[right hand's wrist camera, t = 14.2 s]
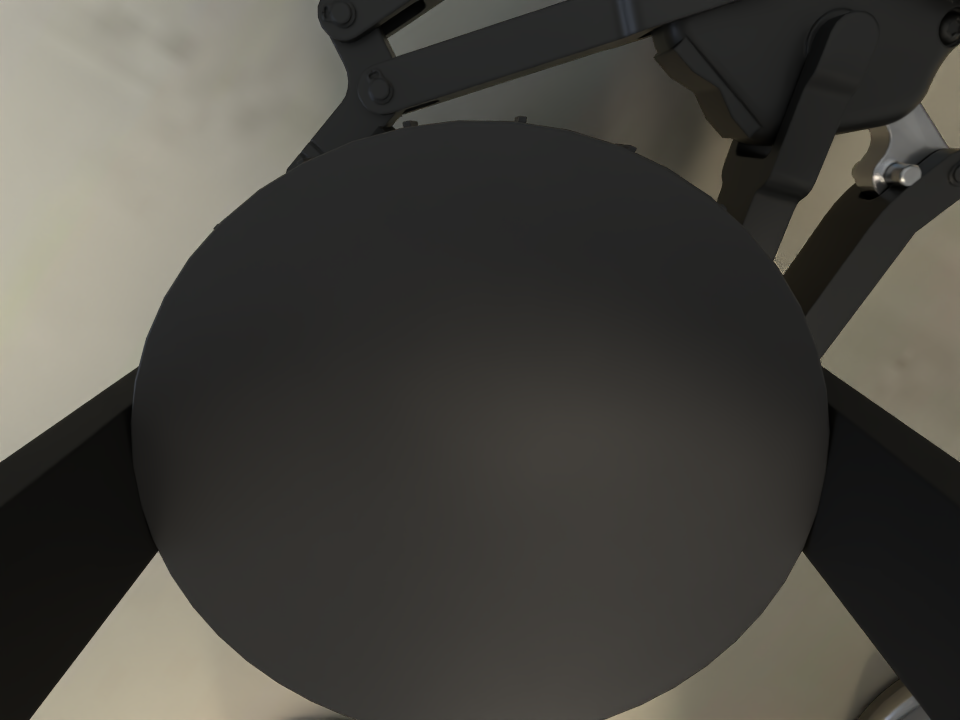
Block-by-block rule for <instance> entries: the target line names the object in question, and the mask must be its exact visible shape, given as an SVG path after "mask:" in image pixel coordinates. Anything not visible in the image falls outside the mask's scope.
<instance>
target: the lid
mask: <svg viewBox="0 0 960 720" xmlns="http://www.w3.org/2000/svg"><path fill="white" fill-rule="evenodd" d="M526 119H527V117H524V116H518V117H515V121H464V120H458V121H450V122H442V123H434V124H426V125H418V123H417V122H416V121H405V122H403V126H404V127H403V128H400V129H396V130H392V131H389V132H385V133H381V134H378V135H374V136H370V137H367V138H363V139H359V140H356V141H352V142H350V143H347V144H345V145H343V146H340V147H338V148H336V149H333V150H331V151H329V152H326V153H324V154H322V155H319V156H316V157H309V158H303V159H301V160H299V161H297V164H298V166H297V167H295V168H294V169H292V170H290V171H289V172H287V173H285V174H284V175H282V176H281V177H279V178H277V179H276V180H274V181H272V182H271V183H269V184H268V185H266V186H264V187H263V188H261V189H259V190H258V191H257V192H256V193H255V194H253V195H252V196H251V197H250V198H249V199H248V200H246V201H245V202H244V203H243V204H242V205H240V206H239V207H238V208H237V209H236V210H234V211H233V212H232V213H231V214H230V215H229V216H227V217H226V218H225V219H224V220H223V221H221V222H220V223H219V224H217V225H216V226H215V227H214V230H213V232H212V233H211V234H210V235H209V236H208V237H207V238H206V239H205V241H204V242H203V243H202V244H201V245H200V246H199V247H198V249H197V250H196V251H195V252H194V253H193V254H192V255H191V257H190V258H189V259H188V261H187V262H186V264H185V265H184V267H183V269H182V270H181V272H180V273H179V275H178V276H177V278H176V280H175V281H174V283H173V284H172V286H171V287H170V289H169V291H168V292H167V294H166V295H165V297H164V299H163V301H162V303H161V306H160V308H159V310H158V313H157V315H156V317H155V319H154V322H153V324H152V326H151V329H150V331H149V333H148V335H147V338H146V341H145V345H144V349H143V352H142V356H141V360H140V364H139V368H138V371H137V375H136V379H135V386H134V395H133V405H132V415H131V442H132V463H133V468H134V473H135V478H136V483H137V487H138V492H139V497H140V502H141V506H142V510H143V512H144V515H145V518H146V521H147V524H148V527H149V530H150V532H151V535H152V538H153V541H154V543H155V545H156V547H157V549H158V551H159V553H160V555H161V556H162V558H163V560H164V562H165V564H166V566H167V568H168V570H169V572H170V574H171V576H172V577H173V579H174V580H175V582H176V583H177V585H178V586H179V587H180V589H181V590H182V592H183V593H184V595H185V596H186V598H187V599H188V601H189V602H190V603H191V605H192V606H193V608H194V609H195V610H196V611H197V612H198V613H199V614H200V616H201V617H202V618H203V619H204V620H205V621H206V622H207V623H208V625H209V626H210V627H211V628H212V629H213V630H214V631H215V632H216V634H217V635H218V636H219V637H220V638H222V639H223V640H224V641H225V642H226V643H227V644H228V645H229V646H231V647H232V648H233V649H234V650H235V651H236V652H237V653H238V654H240V655H241V656H242V657H243V658H244V659H245V660H246V661H248V662H249V663H250V664H252V665H253V666H255V667H256V668H257V669H259V670H260V671H262V672H263V673H265V674H266V675H267V676H269V677H270V678H272V679H273V680H274V681H276V682H277V683H279V684H281V685H283V686H284V687H286V688H288V689H290V690H292V691H293V692H295V693H297V694H299V695H301V696H302V697H304V698H306V699H308V700H310V701H311V702H314V703H316V704H318V705H321V706H323V707H326V708H328V709H330V710H333V711H335V712H337V713H340V714H342V715H344V716H347V717H350V718H353V719H356V720H604V719H607V718H610V717H612V716H615V715H617V714H620V713H622V712H625V711H627V710H630V709H632V708H635V707H637V706H640V705H642V704H644V703H646V702H648V701H650V700H652V699H654V698H655V697H657V696H659V695H661V694H663V693H665V692H667V691H669V690H671V689H673V688H675V687H676V686H678V685H679V684H681V683H682V682H684V681H685V680H687V679H688V678H690V677H691V676H693V675H694V674H696V673H697V672H698V671H700V670H701V669H703V668H704V667H706V666H707V665H708V664H710V663H711V662H712V661H713V660H714V659H716V658H717V657H718V656H719V655H720V654H721V653H723V652H724V651H725V650H726V649H727V648H729V647H730V646H731V645H732V644H733V643H734V642H736V641H737V640H738V638H739V637H740V636H741V635H742V634H743V633H744V632H745V631H746V630H747V629H748V628H749V627H750V626H751V625H752V624H753V622H754V621H755V620H756V619H757V618H758V617H759V616H760V615H761V614H762V613H763V611H764V610H765V609H766V607H767V606H768V604H769V603H770V602H771V600H772V599H773V598H774V596H775V595H776V593H777V592H778V591H779V589H780V588H781V587H782V585H783V584H784V583H785V581H786V579H787V577H788V575H789V573H790V572H791V570H792V568H793V566H794V564H795V563H796V561H797V559H798V557H799V555H800V553H801V552H802V550H803V548H804V545H805V543H806V540H807V537H808V535H809V532H810V530H811V527H812V524H813V522H814V519H815V517H816V514H817V511H818V506H819V502H820V497H821V493H822V488H823V483H824V479H825V474H826V469H827V460H828V448H829V435H830V429H829V414H828V399H827V389H826V384H825V380H824V375H823V371H822V367H821V362H820V358H819V353H818V349H817V346H816V343H815V341H814V338H813V336H812V333H811V331H810V328H809V326H808V323H807V321H806V318H805V316H804V313H803V310H802V308H801V306H800V304H799V302H798V301H797V299H796V297H795V296H794V294H793V292H792V290H791V289H790V287H789V285H788V284H787V282H786V280H785V279H784V277H783V275H782V273H781V272H780V270H779V268H778V267H777V265H776V264H775V263H774V262H773V261H772V259H771V258H770V257H769V256H768V254H767V253H766V252H765V251H764V250H763V248H762V247H761V246H760V245H759V243H758V242H757V241H756V240H755V239H754V237H753V236H752V235H751V234H750V232H749V231H748V230H747V229H746V228H745V227H744V226H743V225H741V224H740V223H739V222H738V221H737V220H736V219H735V218H734V217H733V216H732V215H730V214H729V213H728V212H727V211H726V210H727V208H726V207H725V206H724V205H723V204H720V203H717V202H716V201H715V200H714V199H713V198H712V197H710V196H709V195H707V194H706V193H704V192H703V191H701V190H700V189H698V188H697V187H695V186H694V185H692V184H691V183H689V182H688V181H686V180H685V179H683V178H682V177H680V176H679V175H677V174H676V173H674V172H673V171H671V170H670V169H668V168H666V167H664V166H662V165H660V164H658V163H656V162H654V161H651V160H649V159H647V158H645V157H643V156H641V155H639V154H637V153H635V151H636V149H637V148H636V147H634V146H631V145H623V144H613V143H610V142H606V141H603V140H600V139H597V138H593V137H590V136H587V135H584V134H580V133H577V132H574V131H571V130H566V129H560V128H554V127H547V126H541V125H534V124H528V123H526Z"/></svg>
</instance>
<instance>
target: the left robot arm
mask: <svg viewBox="0 0 960 720" xmlns="http://www.w3.org/2000/svg"><path fill="white" fill-rule="evenodd" d="M442 1H444V0H320V2H319V4H318V19H319V21H320V24H321V26H322V28H323V29H324V30H325V32H326V33H327V34H328V35H329V36H330V38H331V40H332V42H333V44H334V46H335V48H336V50H337V52H338V54H339V56H340V58H341V60H342V62H343V63H344V66H345V68H346V71H347V75H348V90H347V93H346V96H345V98H344V99H343V101H342V103H341V104H340V105H339V106H338V107H337V109H336V110H335V111H334V112H333V114H332V115H331V116H330V117H329V118H328V120H327V121H326V122H325V123H324V125H323V126H322V127H321V128H320V130H319V131H318V132H317V133H316V134H315V136H314V137H313V138H312V139H311V141H310V142H309V143H308V144H307V145H306V147H305V148H304V149H303V150H302V152H301V153H300V154H299V155H298V156H297V158H296V159H295V160H294V161H293V163H292V164H291V165H290V166H289V167H288V169H287V171H286V173H287V172H289V171H290V170H292V169H294V168H295V167H297V166H298V164H297V161H299V160H301V159H303V158H309V157H316V156H319V155H322V154H324V153H326V152H329V151H331V150H333V149H336V148H338V147H340V146H343V145H345V144H347V143H350V142H352V141H356V140H359V139H363V138H367V137H370V136H374V135H378V134H381V133H385V132H389V131H392V130H396V129H394V128H393V127H391V126H392V125H393V124H394V123H395V122H396V121H397V119H398V118H399V117H401V116H402V115H404V114H407V113H410V112H413V111H416V110H419V109H422V108H426V107H429V106H432V105H435V104H438V103H441V102H444V101H447V100H450V99H454V98H457V97H460V96H463V95H466V94H469V93H472V92H475V91H479V90H482V89H485V88H488V87H491V86H494V85H497V84H500V83H503V82H507V81H510V80H513V79H516V78H519V77H522V76H525V75H528V74H531V73H535V72H538V71H541V70H544V69H547V68H550V67H553V66H556V65H560V64H563V63H566V62H569V61H572V60H575V59H578V58H581V57H584V56H588V55H591V54H594V53H597V52H600V51H603V50H608V49H612V48H615V47H619V46H622V45H625V44H628V43H631V42H634V41H638V40H641V39H644V38H647V37H650V36H652V37H653V42H654V45H655V48H656V51H657V54H656V55H655V56H654V57H653V58H654V59H655V60H656V61H657V62H658V64H659V65H660V66H661V67H662V68H663V69H664V71H665V72H666V73H667V74H668V75H669V76H670V78H672V79H673V80H675V81H677V82H678V83H680V84H681V85H683V86H684V87H686V88H688V89H689V90H691V91H692V92H693V93H694V94H695V96H696V98H697V100H698V102H699V104H700V107H701V109H702V111H703V113H704V115H705V118H706V119H707V120H708V122H709V123H710V124H711V125H712V126H713V127H714V129H715V130H716V131H717V132H718V133H719V134H720V136H721V137H722V138H732V139H733V141H732V144H731V146H730V149H729V152H728V155H727V157H726V160H725V163H724V166H723V170H722V181H723V183H722V188H721V191H720V194H719V197H718V200H717V203H720V204H723V205H724V206H725V207H726V208H727V210H726V211H727V212H728V213H729V214H730V215H732V216H733V217H734V218H735V219H736V220H737V221H738V222H739V223H740V224H741V225H743V226H744V227H745V228H746V229H747V230H748V231H749V232H750V234H751V235H752V236H753V237H754V239H755V240H756V241H757V242H758V243H759V245H760V246H761V247H762V248H763V250H764V251H765V252H766V253H767V254H768V256H769V257H770V258H771V259H772V261H773V260H774V258H775V255H776V253H777V251H778V248H779V246H780V243H781V241H782V238H783V236H784V233H785V231H786V229H787V226H788V224H789V221H790V219H791V216H792V214H793V211H794V209H795V207H796V205H797V204H798V202H799V201H800V200H801V199H803V198H804V197H805V196H807V195H808V193H809V192H810V191H811V190H812V188H813V186H814V184H815V182H816V180H817V177H818V175H819V172H820V170H821V168H822V165H823V163H824V160H825V158H826V155H827V153H828V151H829V148H830V146H831V143H832V141H833V139H834V136H835V135H838V134H843V133H849V132H854V131H859V130H865V129H869V131H870V134H871V142H870V147H869V149H868V151H867V153H866V154H865V155H864V157H863V158H862V159H861V161H859V162H857V163H856V164H855V165H854V167H853V168H852V176H853V178H854V179H855V184H854V185H852V186H851V187H850V188H849V189H848V190H847V191H846V192H845V193H844V194H843V195H842V196H841V197H840V198H839V199H838V200H837V201H836V202H835V203H834V205H833V206H832V207H831V209H830V210H829V211H828V213H827V214H826V215H825V216H824V218H823V219H822V221H821V222H820V224H819V225H818V226H817V228H816V229H815V231H814V232H813V234H812V235H811V236H810V238H809V239H808V241H807V242H806V244H805V245H804V246H803V248H802V249H801V251H800V252H799V254H798V255H797V257H796V258H795V259H794V261H793V262H792V264H791V265H790V267H789V268H788V269H787V271H786V272H785V274H784V275H783V277H784V279H785V280H786V282H787V284H788V285H789V287H790V289H791V290H792V292H793V294H794V296H795V297H796V299H797V301H798V302H799V304H800V306H801V308H802V310H803V313H804V316H805V318H806V321H807V323H808V326H809V328H810V331H811V333H812V336H813V338H814V341H815V343H816V346H817V349H818V353H819V358H820V359H821V357H822V356H823V355H824V353H825V352H826V351H827V349H828V348H829V347H830V345H831V344H832V343H833V341H834V340H835V339H836V337H837V336H838V335H839V333H840V332H841V331H842V329H843V328H844V327H845V325H846V324H847V323H848V321H849V320H850V319H851V317H852V316H853V315H854V313H855V312H856V311H857V309H858V308H859V307H860V305H861V304H862V303H863V301H864V300H865V299H866V297H867V296H868V295H869V293H870V292H871V291H872V289H873V288H874V287H875V286H876V284H877V283H878V282H879V280H880V279H881V278H882V276H883V275H884V274H885V272H886V271H887V270H888V268H889V267H890V266H891V264H892V263H893V262H894V260H895V259H896V258H897V256H898V255H899V254H900V252H901V251H902V250H903V248H904V247H905V246H906V244H907V243H908V242H909V240H910V239H911V238H912V236H913V235H914V234H915V232H917V231H918V230H919V229H921V228H922V227H923V226H925V225H926V224H927V223H928V222H930V221H931V220H932V219H934V218H935V217H936V216H938V215H939V214H940V213H942V212H943V211H944V210H946V209H947V208H948V207H950V206H951V205H952V204H954V203H955V202H956V201H958V200H959V199H960V149H954V148H949V147H948V146H947V144H946V143H945V141H944V139H943V138H942V136H941V135H940V133H939V131H938V130H937V128H936V127H935V125H934V123H933V122H932V120H931V119H930V117H929V115H928V114H927V112H926V111H925V109H924V107H923V106H922V104H921V103H920V102H921V101H922V100H923V98H924V97H925V95H926V94H927V92H928V90H929V87H930V85H931V83H932V81H933V78H934V76H935V74H936V73H937V71H938V69H939V67H940V66H941V64H942V63H943V61H944V60H945V59H946V57H947V56H948V55H949V53H950V52H951V51H952V50H953V49H954V48H955V47H956V46H958V45H959V44H960V0H567V1H564V2H561V3H558V4H555V5H552V6H549V7H546V8H543V9H540V10H537V11H534V12H531V13H528V14H525V15H522V16H519V17H515V18H512V19H509V20H506V21H503V22H500V23H497V24H494V25H491V26H488V27H485V28H482V29H479V30H476V31H473V32H470V33H467V34H464V35H461V36H458V37H455V38H452V39H449V40H446V41H443V42H440V43H437V44H434V45H431V46H428V47H425V48H422V49H419V50H416V51H413V52H410V53H407V54H404V55H401V56H397V57H396V56H395V54H394V52H393V50H392V48H391V46H390V44H389V41H388V39H387V38H388V37H390V36H391V35H393V34H394V33H396V32H397V31H399V30H400V29H402V28H403V27H405V26H406V25H408V24H409V23H411V22H412V21H414V20H415V19H417V18H418V17H420V16H421V15H423V14H424V13H426V12H427V11H429V10H430V9H432V8H433V7H435V6H436V5H438V4H439V3H441V2H442ZM858 720H931V719H930V718H929V716H928V715H927V714H926V712H925V711H924V710H923V709H922V707H921V706H920V705H919V703H918V702H917V701H916V699H915V698H914V697H913V695H912V694H911V693H910V692H909V690H908V689H907V688H906V686H905V685H904V684H903V682H902V681H901V680H900V679H899V680H898V681H896V682H895V683H894V684H892V685H891V686H890V687H888V688H887V689H886V690H885V691H883V692H882V693H881V694H880V695H879V696H878V697H877V698H876V699H875V700H874V701H873V702H872V703H871V704H870V705H869V706H868V707H867V708H866V709H865V711H864V712H863V713H862V714H861V716H860V717H859V718H858Z"/></svg>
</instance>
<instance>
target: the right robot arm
mask: <svg viewBox="0 0 960 720" xmlns="http://www.w3.org/2000/svg"><path fill="white" fill-rule="evenodd" d="M821 367H822V366H821ZM138 368H139V366H138V367H137V368H136V369H134V370H133V371H131V372H130V373H128V374H127V375H126V376H124V377H123V378H121V379H120V380H118V381H117V382H115V383H114V384H113V385H111V386H110V387H108V388H107V389H105V390H104V391H103V392H101V393H100V394H98V395H97V396H95V397H94V398H92V399H91V400H90V401H88V402H87V403H85V404H84V405H82V406H81V407H80V408H78V409H77V410H75V411H74V412H72V413H71V414H69V415H68V416H67V417H65V418H64V419H62V420H61V421H59V422H58V423H56V424H55V425H54V426H52V427H51V428H49V429H48V430H46V431H45V432H44V433H42V434H41V435H39V436H38V437H36V438H35V439H33V440H32V441H31V442H29V443H28V444H26V445H25V446H23V447H22V448H21V449H19V450H18V451H16V452H15V453H13V454H12V455H10V456H9V457H8V458H6V459H5V460H3V461H2V462H0V720H30V718H31V717H32V716H33V714H34V713H35V712H36V710H37V709H38V708H39V706H40V705H41V704H42V703H43V701H44V700H45V699H46V697H47V696H48V695H49V693H50V692H51V691H52V689H53V688H54V687H55V685H56V684H57V683H58V682H59V680H60V679H61V678H62V676H63V675H64V674H65V672H66V671H67V670H68V668H69V667H70V666H71V665H72V663H73V662H74V661H75V659H76V658H77V657H78V655H79V654H80V653H81V651H82V650H83V649H84V647H85V646H86V645H87V644H88V642H89V641H90V640H91V638H92V637H93V636H94V634H95V633H96V632H97V630H98V629H99V628H100V626H101V625H102V624H103V623H104V621H105V620H106V619H107V617H108V616H109V615H110V613H111V612H112V611H113V609H114V608H115V607H116V606H117V604H118V603H119V602H120V600H121V599H122V598H123V596H124V595H125V594H126V592H127V591H128V590H129V588H130V587H131V586H132V585H133V583H134V582H135V581H136V579H137V578H138V577H139V575H140V574H141V573H142V571H143V570H144V569H145V568H146V566H147V565H148V564H149V562H150V561H151V560H152V558H153V557H154V556H155V554H156V553H157V552H158V549H157V547H156V545H155V543H154V541H153V538H152V535H151V532H150V530H149V527H148V524H147V521H146V518H145V515H144V512H143V510H142V506H141V502H140V497H139V492H138V487H137V483H136V478H135V473H134V468H133V463H132V442H131V415H132V405H133V395H134V386H135V379H136V375H137V371H138ZM822 371H823V375H824V380H825V384H826V389H827V399H828V414H829V429H830V435H829V448H828V460H827V469H826V474H825V479H824V483H823V488H822V493H821V497H820V502H819V506H818V511H817V514H816V517H815V519H814V522H813V524H812V527H811V530H810V532H809V535H808V537H807V540H806V543H805V545H804V548H803V550H802V551H803V553H804V554H805V555H806V557H807V558H808V559H809V560H810V562H811V563H812V564H813V566H814V567H815V568H816V570H817V571H818V572H819V574H820V575H821V576H822V577H823V579H824V580H825V581H826V583H827V584H828V585H829V587H830V588H831V589H832V591H833V592H834V593H835V595H836V596H837V597H838V598H839V600H840V601H841V602H842V604H843V605H844V606H845V608H846V609H847V610H848V612H849V613H850V614H851V615H852V617H853V618H854V619H855V621H856V622H857V623H858V625H859V626H860V627H861V629H862V630H863V631H864V633H865V634H866V635H867V636H868V638H869V639H870V640H871V642H872V643H873V644H874V646H875V647H876V648H877V650H878V651H879V652H880V654H881V655H882V656H883V657H884V659H885V660H886V661H887V663H888V664H889V665H890V667H891V668H892V669H893V671H894V672H895V673H896V674H897V676H898V677H899V678H900V680H901V681H902V682H903V684H904V685H905V686H906V688H907V689H908V690H909V692H910V693H911V694H912V695H913V697H914V698H915V699H916V701H917V702H918V703H919V705H920V706H921V707H922V709H923V710H924V711H925V712H926V714H927V715H928V716H929V718H930V719H931V720H960V462H959V461H957V460H956V459H954V458H953V457H951V456H950V455H949V454H947V453H946V452H944V451H943V450H941V449H940V448H938V447H937V446H936V445H934V444H933V443H931V442H930V441H928V440H927V439H926V438H924V437H923V436H921V435H920V434H918V433H917V432H915V431H914V430H913V429H911V428H910V427H908V426H907V425H905V424H904V423H903V422H901V421H900V420H898V419H897V418H895V417H894V416H892V415H891V414H890V413H888V412H887V411H885V410H884V409H882V408H881V407H879V406H878V405H877V404H875V403H874V402H872V401H871V400H869V399H868V398H867V397H865V396H864V395H862V394H861V393H859V392H858V391H856V390H855V389H854V388H852V387H851V386H849V385H848V384H846V383H845V382H843V381H842V380H841V379H839V378H838V377H836V376H835V375H833V374H832V373H831V372H829V371H828V370H826V369H825V368H823V367H822Z"/></svg>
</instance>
